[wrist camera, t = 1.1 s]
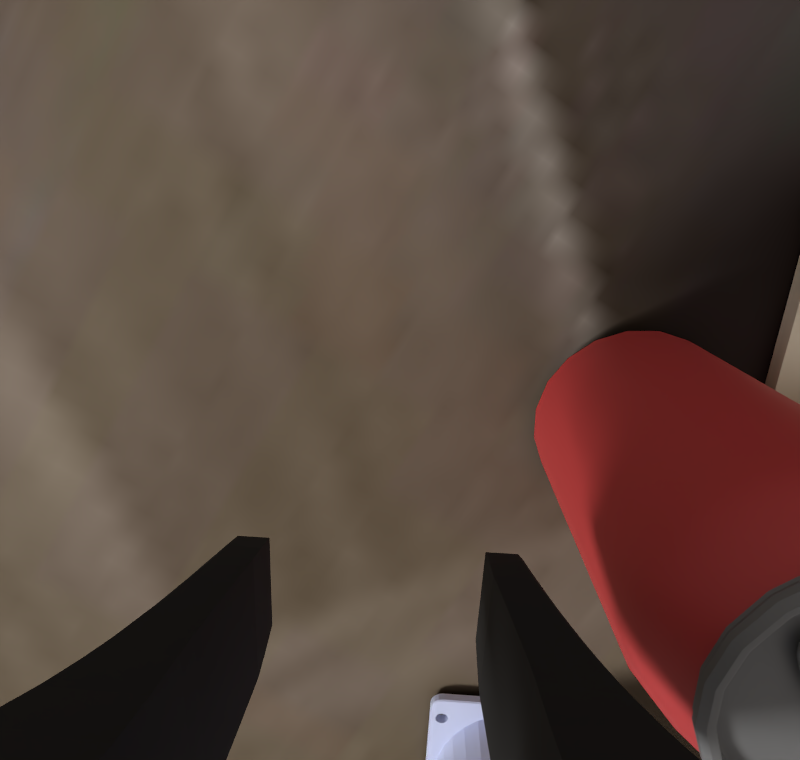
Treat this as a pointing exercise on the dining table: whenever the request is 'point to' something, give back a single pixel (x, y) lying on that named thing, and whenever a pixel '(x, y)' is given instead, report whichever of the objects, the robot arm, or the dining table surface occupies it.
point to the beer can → (687, 530)
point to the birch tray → (788, 347)
